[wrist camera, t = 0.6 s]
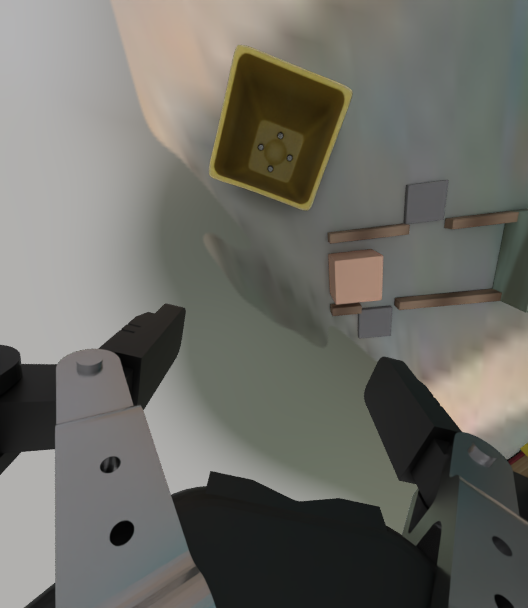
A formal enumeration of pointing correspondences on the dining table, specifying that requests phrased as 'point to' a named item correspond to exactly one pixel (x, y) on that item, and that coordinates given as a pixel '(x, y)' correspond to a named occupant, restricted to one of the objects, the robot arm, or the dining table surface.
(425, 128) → the dining table surface
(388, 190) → the dining table surface
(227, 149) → the flower pot
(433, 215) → the trap pads
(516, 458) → the decorative book
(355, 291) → the terracotta block
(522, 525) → the robot arm
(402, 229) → the lane
